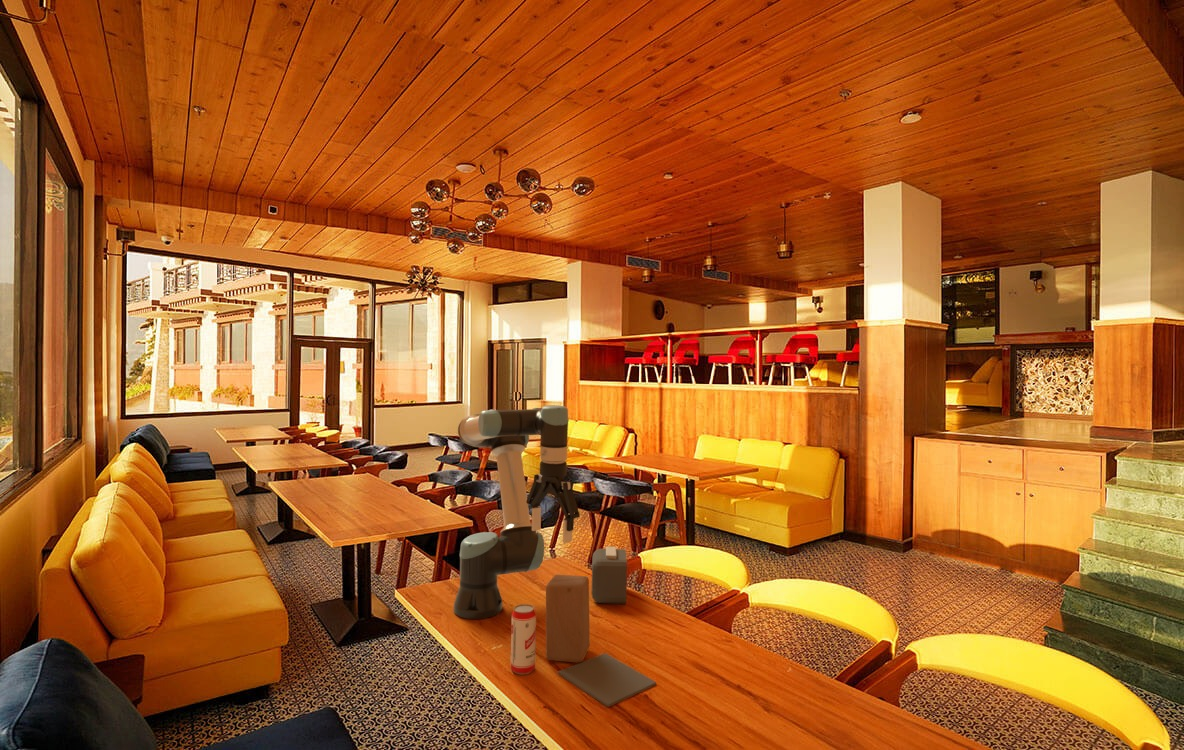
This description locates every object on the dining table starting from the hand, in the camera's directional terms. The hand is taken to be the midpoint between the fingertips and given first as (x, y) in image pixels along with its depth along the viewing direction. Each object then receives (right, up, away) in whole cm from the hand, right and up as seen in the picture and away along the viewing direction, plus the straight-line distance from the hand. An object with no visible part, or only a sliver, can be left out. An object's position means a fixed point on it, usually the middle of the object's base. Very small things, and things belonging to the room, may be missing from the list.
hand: (551, 535), depth 173 cm
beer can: (-6, -31, -15) cm, 35 cm away
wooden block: (+5, -30, -7) cm, 31 cm away
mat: (+15, -31, -19) cm, 39 cm away
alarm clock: (+17, -30, +34) cm, 48 cm away
